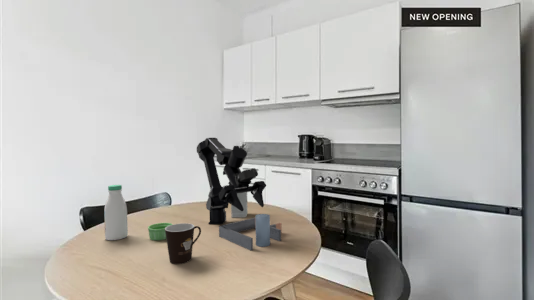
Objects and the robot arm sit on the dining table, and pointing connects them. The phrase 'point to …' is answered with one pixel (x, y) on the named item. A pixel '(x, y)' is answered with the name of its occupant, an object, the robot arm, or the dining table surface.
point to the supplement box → (243, 200)
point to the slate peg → (262, 230)
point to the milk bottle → (115, 214)
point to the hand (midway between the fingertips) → (253, 208)
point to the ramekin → (158, 231)
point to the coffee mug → (180, 242)
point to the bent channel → (240, 239)
